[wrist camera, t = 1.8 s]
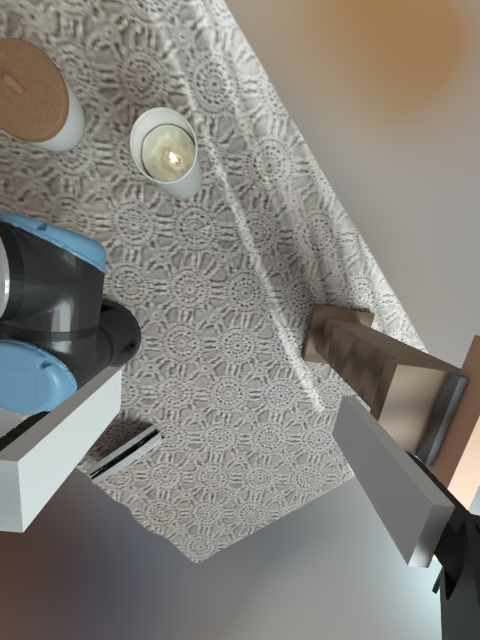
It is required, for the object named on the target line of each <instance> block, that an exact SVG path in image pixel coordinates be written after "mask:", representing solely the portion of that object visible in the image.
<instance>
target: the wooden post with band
mask: <svg viewBox="0 0 480 640" xmlns="http://www.w3.org/2000/svg"><path fill="white" fill-rule="evenodd" d="M374 315H375V314H373V313H370V312H364V311H358V310H352V309H345V308H339V307H333V306H327V305H321V304H314V309H313V313H312V317H311V321H310V326H309V330H308V334H307V338H306V342H305V347H304V351H303V355H302V359H303V360H304V361H310V362H316V363H323V364H329V365H330V366H331V367H332V368H333V369H334V370H335V371H336V372H337V373H338V374H339V376H340V377H341V378H342V379H343V380H344V381H345V382H346V383H347V384H348V385H349V386H350V387H351V388H352V389H353V390H354V391H355V392H356V393H357V394H358V395H359V397H360V398H361V399H362V400H363V401H364V402H365V403H366V404H367V405H368V406H369V407H370V408H371V410H370V414H371V415H372V416H373V417H374V418H375V419H376V420H377V421H378V423H379V424H380V425H381V426H382V427H383V428H384V429H385V430H386V431H387V432H388V433H389V435H390V436H391V437H392V438H393V439H394V440H395V441H396V442H397V443H398V444H399V445H400V447H401V448H402V449H403V450H404V451H408V452H409V453H411V454H412V455H415V456H417V457H418V458H419V459H420V460H421V461H422V462H423V463H424V464H425V465H430V466H432V465H433V463H434V460H435V458H436V456H437V453H438V451H439V448H440V446H441V443H442V441H443V439H444V436H445V434H446V431H447V429H448V426H449V424H450V422H451V419H452V417H453V414H454V412H455V409H456V407H457V405H458V402H459V400H460V397H461V395H462V392H463V390H464V388H465V385H466V383H467V380H468V378H466V377H464V376H462V375H460V371H461V369H460V368H457V367H455V366H453V365H451V364H449V363H447V362H444V361H442V360H440V359H437V358H436V357H433V356H431V355H429V354H427V353H425V352H423V351H420V350H418V349H416V348H414V347H412V346H409V345H407V344H405V343H403V342H401V341H398V340H396V339H394V338H392V337H390V336H388V335H385V334H383V333H381V332H379V331H377V330H374V329H372V328H371V325H372V322H373V319H374Z"/></svg>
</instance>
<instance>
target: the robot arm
mask: <svg viewBox="0 0 480 640" xmlns="http://www.w3.org/2000/svg"><path fill="white" fill-rule="evenodd" d="M105 262H106V252H105V249H104V247H103V246H102V245H101V244H100V243H99V242H97V241H95V240H93V239H91V238H88V237H85V236H83V235H80V234H77V233H74V232H71V231H68V230H66V229H63V228H60V227H57V226H53V225H50V224H46V223H43V222H41V221H37V220H34V219H32V218H29V217H25V216H22V215H19V214H15V213H11V212H7V211H3V212H1V214H0V407H2V408H5V409H7V410H9V411H13V412H16V413H21V414H35V415H33V416H31V417H29V418H27V419H26V420H24V421H23V422H22V423H21V424H19V425H18V426H17V427H16V428H14V429H12V430H11V431H9V432H8V433H7V434H6V436H3V437H1V438H0V531H12V532H24V531H25V529H26V528H27V527H28V525H29V524H30V523H31V522H32V520H33V519H34V518H35V517H36V516H37V514H38V513H39V512H40V510H41V509H42V508H43V507H44V505H45V504H46V503H47V501H48V500H49V499H50V498H51V497H52V495H53V494H54V493H55V492H56V490H57V489H58V488H59V486H60V485H61V484H62V483H63V482H64V480H65V479H66V478H67V477H68V475H69V474H70V473H71V471H72V470H73V469H74V468H75V466H76V465H77V464H78V463H79V461H80V460H81V459H82V458H83V456H84V455H85V454H86V453H87V451H88V450H89V449H90V448H91V446H92V445H93V444H94V443H95V441H96V440H97V439H98V437H99V436H100V435H101V434H102V432H103V431H104V430H105V429H106V427H107V426H108V425H109V424H110V422H111V421H112V420H113V419H114V417H115V416H116V415H117V414H118V412H119V411H120V405H121V379H122V368H120V366H122V365H124V364H125V363H127V362H128V361H129V360H130V359H131V358H132V357H133V356H134V355H135V354H136V353H137V351H138V349H139V347H140V343H141V331H140V327H139V324H138V322H137V320H136V319H135V317H134V316H133V315H132V314H131V313H130V312H129V311H128V310H127V309H126V308H124V307H123V306H121V305H119V304H117V303H114V302H110V301H102V294H103V284H104V275H106V270H105ZM53 409H54V410H53ZM51 410H52V411H51ZM50 411H51V412H50ZM332 435H333V437H334V439H335V440H336V442H337V444H338V445H339V447H340V449H341V451H342V452H343V454H344V456H345V458H346V459H347V461H348V463H349V465H350V466H351V468H352V470H353V472H354V473H355V475H356V477H357V478H358V480H359V482H360V484H361V485H362V487H363V489H364V491H365V492H366V494H367V496H368V498H369V499H370V501H371V503H372V504H373V506H374V508H375V510H376V511H377V513H378V515H379V517H380V518H381V520H382V522H383V524H384V525H385V527H386V529H387V530H388V532H389V534H390V536H391V538H392V539H393V541H394V543H395V544H396V546H397V548H398V549H399V551H400V553H401V555H402V556H403V558H404V560H405V562H406V563H407V565H408V566H416V567H426V568H428V567H429V565H430V562H431V560H432V558H433V556H434V555H435V556H436V558H437V559H438V561H439V562H440V563H441V565H442V566H443V567H442V569H441V571H440V573H439V575H438V578H437V580H436V582H435V584H434V587H433V590H432V591H433V592H434V593H435V594H436V593H437V591H438V589H440V601H441V624H442V625H441V626H442V640H480V516H478V515H474V514H471V513H470V512H469V511H468V510H467V509H466V508H465V507H464V506H463V505H462V504H461V503H460V502H459V501H458V500H457V499H456V498H455V496H454V495H453V494H452V493H451V492H450V491H449V490H448V489H447V488H446V487H445V486H444V485H443V484H442V483H441V482H439V480H438V479H437V478H436V476H435V475H434V474H433V473H431V472H430V470H429V469H428V468H427V467H426V466H425V465H424V464H423V463H422V462H421V461H420V460H419V459H417V458H416V457H414V456H413V455H412V454H411V453H409V452H408V451H404V450H403V449H402V448H401V447H400V445H399V444H398V443H397V442H396V441H395V440H394V439H393V438H392V437H391V436H390V435H389V433H388V432H387V431H386V430H385V429H384V428H383V427H382V426H381V425H380V424H379V423H378V421H377V420H376V419H375V418H374V417H373V416H372V415H371V414H370V413H369V412H368V411H367V409H366V408H365V407H364V406H363V405H362V404H361V403H360V402H359V401H358V400H357V399H356V397H351V396H343V397H342V401H341V404H340V408H339V412H338V415H337V419H336V423H335V426H334V430H333V434H332Z"/></svg>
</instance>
